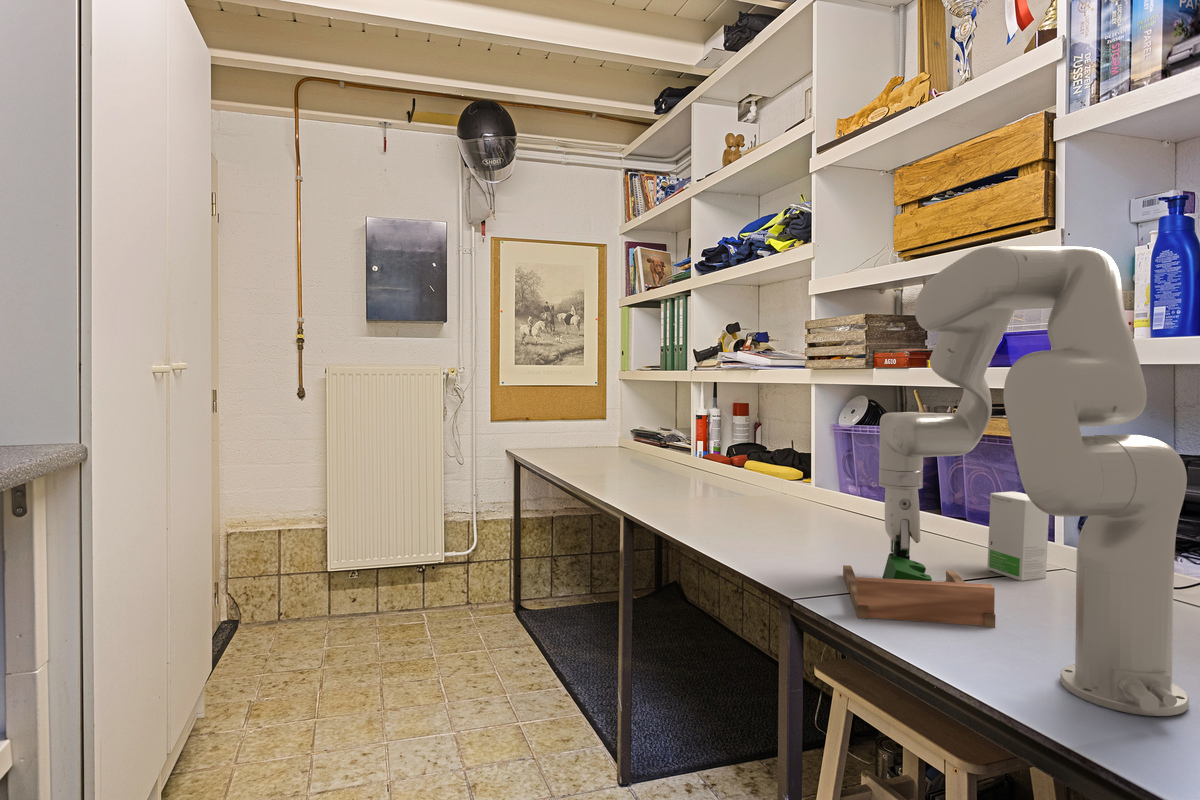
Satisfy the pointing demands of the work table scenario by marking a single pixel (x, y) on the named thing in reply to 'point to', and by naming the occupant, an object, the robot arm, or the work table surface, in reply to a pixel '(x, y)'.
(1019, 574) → the skincare box
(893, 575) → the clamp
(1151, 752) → the work table surface
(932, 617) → the brown wooden tray
